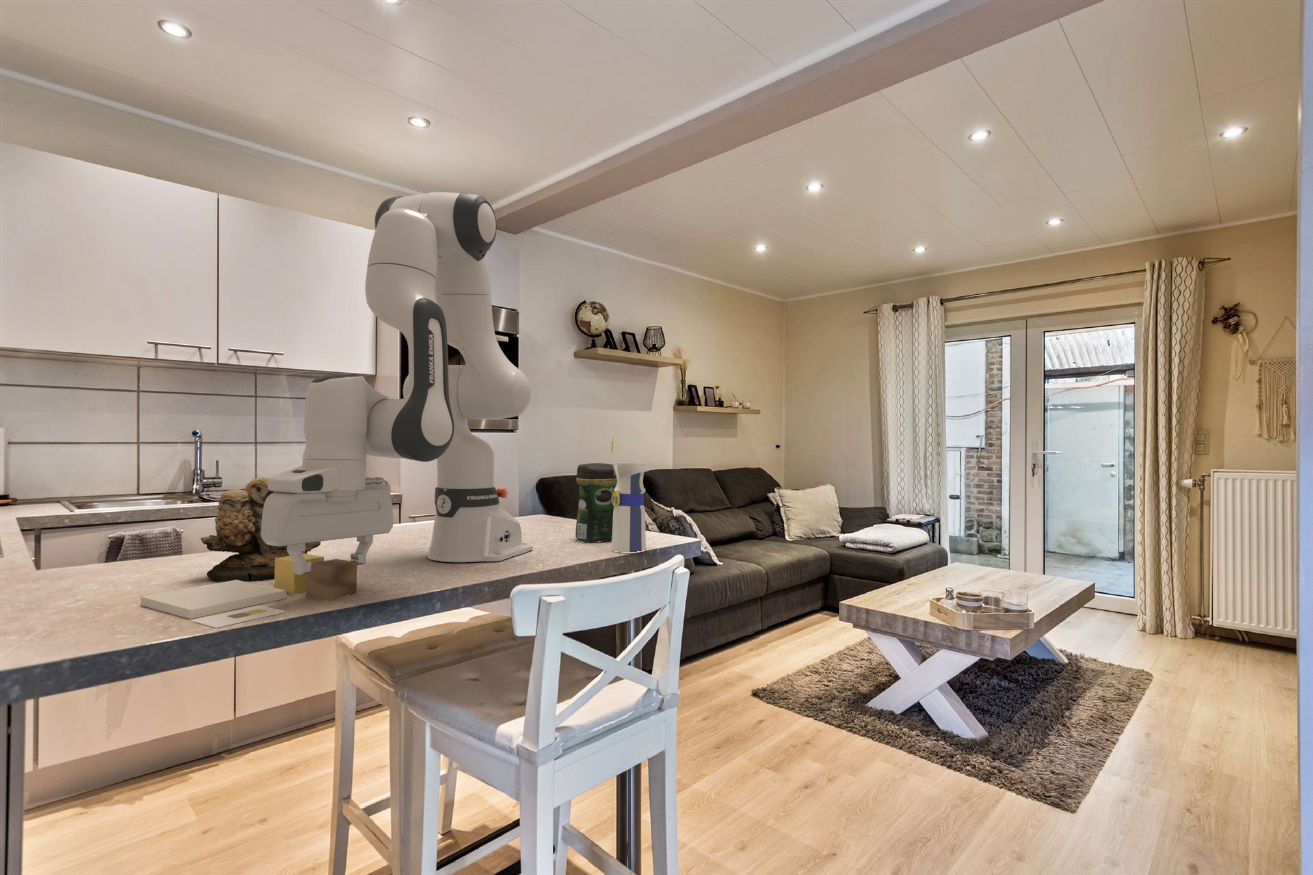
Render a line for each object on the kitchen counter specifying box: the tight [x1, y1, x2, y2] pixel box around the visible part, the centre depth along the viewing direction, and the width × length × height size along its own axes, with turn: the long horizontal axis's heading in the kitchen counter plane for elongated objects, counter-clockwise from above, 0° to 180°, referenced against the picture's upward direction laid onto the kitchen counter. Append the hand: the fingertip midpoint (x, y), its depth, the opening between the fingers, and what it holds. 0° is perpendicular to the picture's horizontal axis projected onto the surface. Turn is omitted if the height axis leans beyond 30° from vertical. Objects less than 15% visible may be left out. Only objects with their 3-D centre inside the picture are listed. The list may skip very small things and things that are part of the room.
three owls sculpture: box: [200, 476, 322, 583], centre depth 115 cm, size 18×12×17 cm, turn 133°
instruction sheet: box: [190, 604, 286, 629], centre depth 88 cm, size 9×6×1 cm, turn 152°
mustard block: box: [273, 553, 325, 594], centre depth 105 cm, size 5×5×5 cm
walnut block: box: [305, 558, 358, 601], centre depth 101 cm, size 5×5×5 cm
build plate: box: [140, 580, 287, 620], centre depth 96 cm, size 13×13×1 cm
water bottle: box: [610, 437, 650, 552], centre depth 144 cm, size 8×9×25 cm
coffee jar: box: [575, 462, 617, 543], centre depth 158 cm, size 10×8×19 cm
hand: (331, 569), depth 100 cm, fingers open, 8 cm apart
